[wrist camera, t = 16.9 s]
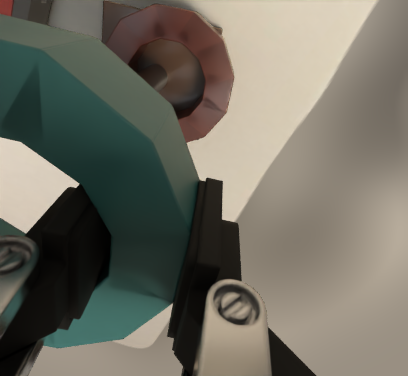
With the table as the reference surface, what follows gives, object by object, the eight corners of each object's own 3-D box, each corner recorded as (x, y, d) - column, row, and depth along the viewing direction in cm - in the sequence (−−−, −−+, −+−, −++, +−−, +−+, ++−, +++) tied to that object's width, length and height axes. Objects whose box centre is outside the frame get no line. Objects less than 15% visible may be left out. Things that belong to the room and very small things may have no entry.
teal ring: (-146, -23, 8) (-321, -39, 5) (227, 69, 8) (229, 94, 6) (-59, 255, 12) (-128, 314, 10) (170, 301, 13) (158, 368, 11)
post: (108, 0, 23) (-4, -13, 12) (222, 28, 24) (218, 41, 12) (103, 113, 28) (18, 181, 16) (199, 135, 28) (181, 216, 17)
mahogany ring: (115, -6, 22) (101, -8, 20) (244, 21, 22) (246, 22, 20) (111, 121, 27) (100, 132, 24) (217, 142, 27) (217, 155, 25)
